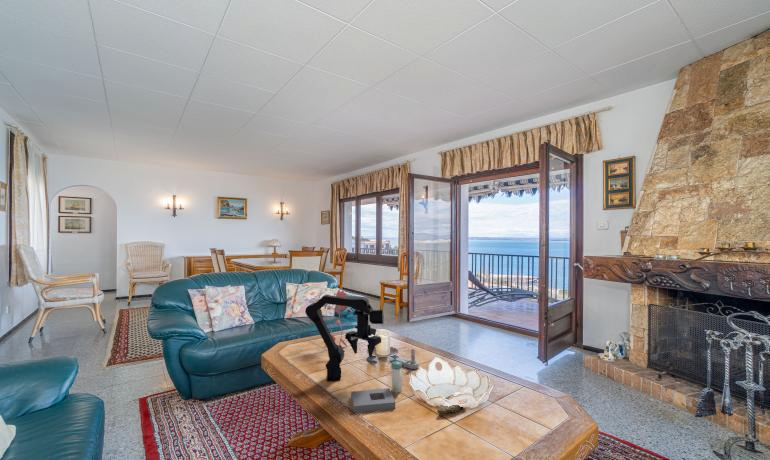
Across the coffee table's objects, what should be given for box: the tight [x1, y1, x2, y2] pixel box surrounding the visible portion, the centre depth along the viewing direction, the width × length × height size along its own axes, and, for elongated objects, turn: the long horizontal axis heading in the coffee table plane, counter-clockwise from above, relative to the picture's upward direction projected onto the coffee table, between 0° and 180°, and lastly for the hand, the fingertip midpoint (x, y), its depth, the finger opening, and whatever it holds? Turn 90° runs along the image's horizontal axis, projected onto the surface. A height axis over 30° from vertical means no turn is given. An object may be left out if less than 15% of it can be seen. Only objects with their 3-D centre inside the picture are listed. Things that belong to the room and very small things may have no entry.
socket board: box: [350, 387, 396, 413], centre depth 148 cm, size 17×13×2 cm
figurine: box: [328, 289, 353, 347], centre depth 224 cm, size 15×26×35 cm, turn 46°
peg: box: [391, 360, 403, 394], centre depth 159 cm, size 4×4×12 cm
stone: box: [436, 394, 461, 417], centre depth 141 cm, size 14×7×5 cm, turn 136°
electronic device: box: [395, 348, 419, 370], centre depth 189 cm, size 5×10×15 cm
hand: (363, 355), depth 171 cm, fingers open, 9 cm apart
